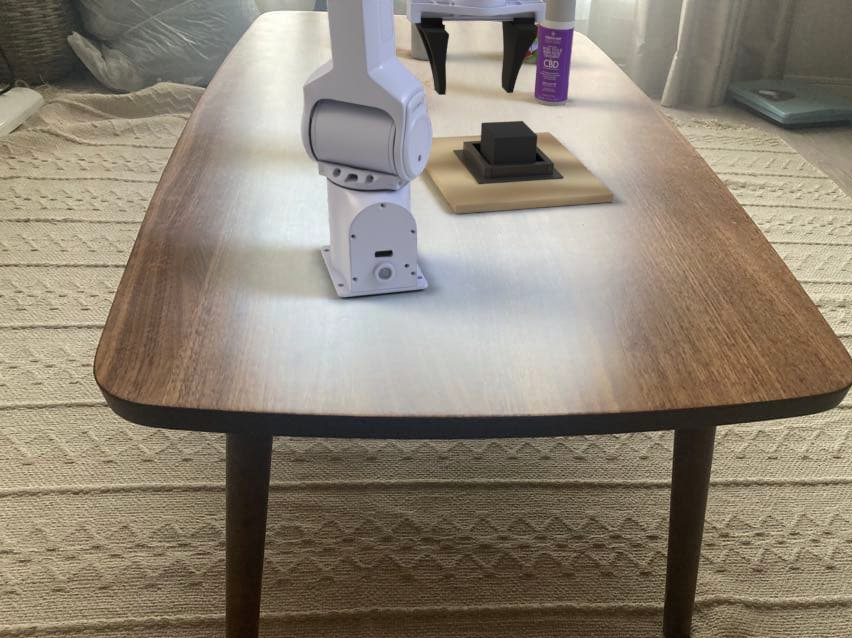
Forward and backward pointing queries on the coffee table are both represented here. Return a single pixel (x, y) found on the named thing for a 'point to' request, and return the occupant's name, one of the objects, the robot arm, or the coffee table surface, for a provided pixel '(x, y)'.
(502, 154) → the black cube
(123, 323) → the coffee table surface
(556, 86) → the container
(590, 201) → the pad base
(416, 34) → the grey upright cylinder
